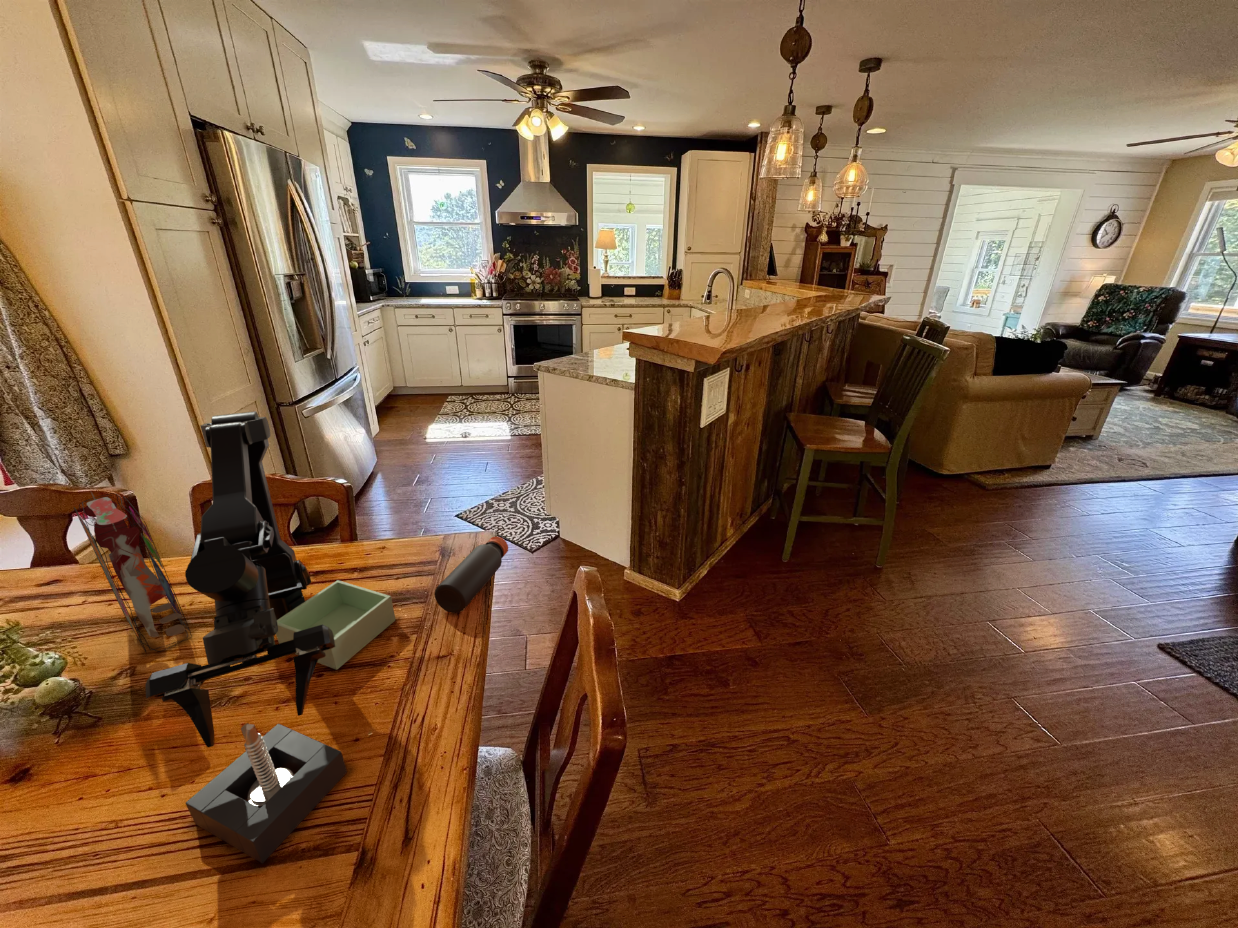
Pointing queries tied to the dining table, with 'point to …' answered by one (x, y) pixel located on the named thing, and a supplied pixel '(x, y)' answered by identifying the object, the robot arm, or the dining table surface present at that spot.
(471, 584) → the bottle
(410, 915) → the dining table surface
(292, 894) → the dining table surface
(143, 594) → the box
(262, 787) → the screw
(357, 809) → the dining table surface
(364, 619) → the parts bin
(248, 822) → the gray rectangular frame
